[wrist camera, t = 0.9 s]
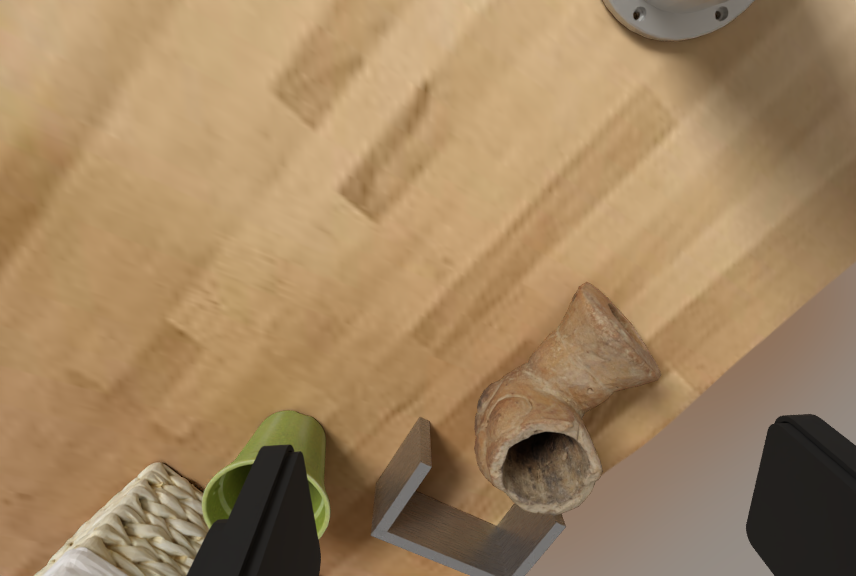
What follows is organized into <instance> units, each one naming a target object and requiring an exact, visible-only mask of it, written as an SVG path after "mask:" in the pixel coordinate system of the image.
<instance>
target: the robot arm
mask: <svg viewBox="0 0 856 576" xmlns="http://www.w3.org/2000/svg"><path fill="white" fill-rule="evenodd" d="M754 1H755V0H603V2H604V4H605V6H606V7H607V8H608V9H609V11H610V12H611V13H612V14H613V15H614V17H615V18H616V19H617V20H618V21H619V22H620V23H622V24H623V25H624V26H626V27H627V28H628V29H629V30H631V31H633V32H635V33H637V34H639V35H641V36H643V37H645V38H650V39H655V40H659V41H681V40H686V39H692V38H696V37H699V36H702V35H705V34H708V33H711V32H713V31H715V30H717V29H719V28H721V27H723V26H725V25H727V24H728V23H730V22H731V21H732V20H734V19H735V18H736V17H738V16H739V15H740V14H741V13H743V12H744V11H745V10H746V9H747V8H748V7H749V6H750V5H751V4H752V3H753V2H754ZM634 12H635V13H636V14H637V19H636V20H635V19H634V18H633V13H634ZM715 13H716V14H717V18H715ZM746 531H747V536H748V539H749V541H750V543H751V545H752V546H753V548H754V549H755V551H756V552H757V553H758V554H759V556H760V557H761V558H762V560H763V561H764V562H765V564H766V565H767V566H768V567H769V569H770V570H771V572H772V573H773V574H774V576H856V445H854V444H853V443H852V442H850V441H849V440H848V439H847V438H845V437H844V436H843V435H841V434H840V433H839V432H838V431H836V430H835V429H834V428H832V427H831V426H830V425H829V424H827V423H826V422H825V421H823V420H822V419H821V418H819V417H818V416H816V415H812V414H804V415H787V416H780V417H779V418H777V419H776V421H775V424H772V425H771V426H770V427H769V429H768V432H767V436H766V440H765V445H764V449H763V454H762V458H761V462H760V467H759V472H758V475H757V480H756V485H755V489H754V493H753V498H752V502H751V506H750V511H749V515H748V519H747V524H746ZM320 563H321V553H320V546H319V540H318V535H317V529H316V523H315V518H314V512H313V506H312V501H311V495H310V489H309V484H308V478H307V473H306V467H305V461H304V456H303V453H302V452H301V451H297V452H294V448H293V446H292V445H290V444H288V445H271V446H263V447H261V449H260V450H259V452H258V454H257V456H256V459H255V461H254V463H253V465H252V467H251V470H250V472H249V474H248V476H247V478H246V480H245V483H244V485H243V487H242V489H241V491H240V494H239V496H238V498H237V500H236V502H235V505H234V507H233V509H232V511H231V513H230V515H229V518H228V519H219V520H217V521H215V522H214V523H213V524H212V526H211V527H210V529H209V531H208V533H207V535H206V537H205V539H204V541H203V543H202V545H201V547H200V549H199V551H198V553H197V555H196V557H195V559H194V561H193V563H192V565H191V567H190V569H189V571H188V573H187V575H186V576H319V571H320Z"/></svg>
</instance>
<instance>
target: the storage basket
mask: <svg viewBox="0 0 856 576" xmlns="http://www.w3.org/2000/svg"><path fill="white" fill-rule="evenodd" d="M202 497H203V493H202V492H201V491H199V490H198V489H197V488H196V487H194V485H193V484H190V483H189V481H188V480H187V479H186V478H184V477H181V476H180V475H178V474H177V473H176V472H174V471H173V470H172V469H170V468H169V467H168V466H166V465H165V464H163V463H161V462H157V463H153V464H151V465H149V466H148V467H147V468H145V469H144V470H143V471H142V472H141V473H140V474H139V475H138V476H137V478H135V479H134V480H132V481H131V482H130V483H129V484H128V485H127V486H126V487H125V488H124V489H123V490H122V491H121V492H119V493H117V494H116V495H115V496H114V497H113V498H112V499H111V500H110V501H109V502H108V503H107V504H106V505H105V506H104V507H102V508H101V509H100V510H99V511H98V512H97V513H96V514H95V515H94V516H93V517H92V518H91V519H90V520H88V521H87V522H85V523H84V524H83V525H82V526H81V527H80V528H79V530H78V531H77V532H76V534H75V535H74V536H73V537H72V538H70V539H68V541H67V542H66V543H65V545H64V546H63V547H61V548H60V549H59V551H58V552H57V553H56V554H55V555H53V556H52V558H51V559H50V561H49V562H48V564H47V566H45V567H44V568H43V569H42V570H41V571H39V572H37V573H36V574H35V575H34V576H186V575H187V573H188V571H189V569H190V567H191V565H192V563H193V561H194V559H195V557H196V555H197V553H198V551H199V549H200V547H201V545H202V543H203V541H204V539H205V537H206V535H207V533H208V531H209V527H208V526H207V524H206V522H205V520H204V517H203V512H202Z"/></svg>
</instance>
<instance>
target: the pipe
mask: <svg viewBox="0 0 856 576" xmlns="http://www.w3.org/2000/svg"><path fill="white" fill-rule="evenodd" d="M660 376H661V373H660V370H659V367H658V365H657V364H656V362H655V360H654V359H653V357H652V355H651V354H650V352H649V350H648V348H647V347H646V345H645V343H644V342H643V340H642V339H641V337H640V336H639V334H638V333H637V331H636V330H635V328H634V327H633V325H632V324H631V323H630V322H629V321H628V319H627V318H626V317H625V316H624V315H623V314H622V313H621V312H620V311H619V310H618V309H617V308H616V307H615V305H614V304H613V303H612V302H611V301H610V300H609V299H608V298H607V297H606V296H605V295H604V294H603V293H602V292H601V291H600V290H599V289H597V288H596V287H595V286H593V285H592V284H590V283H587V282H586V283H584V284H583V285H581V286H580V287H579V288H578V290H577V292H576V293H575V295H574V297H573V298H572V301H571V303H570V305H569V308H568V310H567V313H566V315H565V317H564V319H563V320H562V322H561V324H560V325H559V327H558V328H557V329H556V330H555V331H553V332H552V333H551V334H549V336H548V337H547V338H546V339H545V340H544V341H543V343H542V344H541V345H540V346H539V347H538V348H537V349H536V350H535V352H534V353H533V354H532V356H531V357H530V359H529V361H528V363H526V364H523V365H522V366H520V367H519V368H517V369H515V370H513V371H511V372H509V373H507V374H506V375H505V376H504V377H503V378H502V379H501V380H499V381H496V382H494V383H492V384H490V385H489V386H488V387H487V388H486V389H485V390H484V391H483V393H482V395H481V397H480V399H479V401H478V407H477V408H478V413H476V416H475V434H476V441H475V447H474V450H475V454H476V459H477V464H478V466H479V469H480V471H481V473H482V474H483V475H484V476H485V477H486V479H488V480H489V481H490V482H491V483H492V485H493V486H495V487H496V488H498V489H500V490H502V491H504V492H505V493H506V494H507V495H508V496H509V497H510V499H511V500H512V501H513V502H514V503H515V504H517V505H518V506H519V507H521V508H522V509H523V510H525V511H528V512H532V513H535V514H537V513H541V514H545V515H546V514H551V515H553V516H556V515H560V514H562V513H564V512H567V511H569V510H572V509H574V508H576V507H579V505H581V503H583V501H584V500H585V499H586V498H587V497H588V496H589V495H590V493H591V492H592V489H593V487H594V484H595V482H596V481H597V480H599V478H600V477H601V474H602V472H603V470H602V466H601V462H600V459H599V457H598V454H597V452H596V449H595V447H594V444H593V442H592V440H591V437H590V435H589V433H588V431H587V429H586V427H585V425H584V423H583V421H582V417H583V415H584V413H585V412H587V411H589V410H591V409H592V408H594V407H596V406H598V405H600V404H601V403H603V402H604V401H606V400H607V399H608V398H609V397H610V395H611V394H612V393H613V392H616V391H620V390H623V389H627V388H631V387H636V386H639V385H643V384H646V383H650V382H653V381H656V380H658V379H659V378H660Z"/></svg>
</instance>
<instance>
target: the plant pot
mask: <svg viewBox="0 0 856 576" xmlns="http://www.w3.org/2000/svg"><path fill="white" fill-rule="evenodd" d="M288 444H290V445H292V446H293V448H294V452H297V451H301V452H302V453H303V456H304V461H305V467H306V473H307V478H308V484H309V489H310V495H311V501H312V506H313V512H314V518H315V523H316V529H317V535H318V540H319V539H320V538H321V536H322V535H323V533H324V532H325V530H326V528H327V526H328V523H329V519H330V510H331V509H330V502H329V498H328V496H327V493H326V490H325V486H324V469H325V450H326V437H325V433H324V430H323V428H322V427H321V425H320V424H319V423H318V422H317V421H316V420H315V419H314V418H312V417H311V416H306V415H303V414H300V413H297V412H295V411H281V412H277V413H275V414H272V415H271V416H269V417H268V418H266V419H265V420H264V421H263V422H262V424H261V425H260V426H259V428H258V429H257V431H256V432H255V433H254V435H253V436H252V438H251V439H250V440H249V442H248V443H247V444H246V446H245V447H244V448H243V450H242V451H241V452H240V454H239V455H238V457H237V458H236V459H235V461H233V462H232V463H231V464H229V465H228V466H226V467H225V468H223V469H222V470H220V471H219V472H218V473H217V474H216V475H215V476H214V477H213V478H212V479H211V481H210V482H209V483H208V485H207V486H206V489H205V491H204V493H203V497H202V512H203V517H204V520H205V522H206V524H207V526H208V527H209V529H210V527H211V526H212V524H213V523H214V522H215V521H217V520H219V519H228V518H229V515H230V513H231V511H232V509H233V507H234V505H235V502H236V500H237V498H238V496H239V494H240V491H241V489H242V487H243V485H244V483H245V480H246V478H247V476H248V474H249V472H250V470H251V467H252V465H253V463H254V461H255V459H256V456H257V454H258V452H259V450H260V449H261V447H263V446H271V445H288Z"/></svg>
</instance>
